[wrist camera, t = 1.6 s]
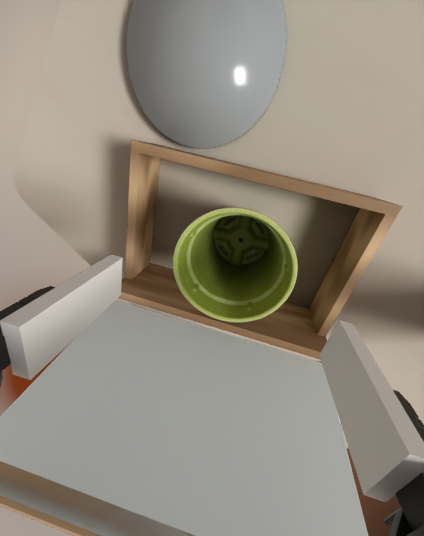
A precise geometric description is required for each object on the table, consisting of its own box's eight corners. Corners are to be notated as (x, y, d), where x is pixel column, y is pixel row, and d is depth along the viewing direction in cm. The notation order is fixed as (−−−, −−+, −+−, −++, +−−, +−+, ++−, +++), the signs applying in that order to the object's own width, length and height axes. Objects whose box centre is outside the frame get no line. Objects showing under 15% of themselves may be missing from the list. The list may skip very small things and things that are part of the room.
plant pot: (182, 227, 26) (148, 255, 18) (253, 172, 22) (249, 178, 14) (231, 289, 28) (219, 338, 20) (302, 248, 24) (322, 289, 16)
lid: (-60, 479, 11) (-51, 486, 11) (400, 662, 9) (384, 660, 9) (112, 299, 22) (113, 306, 23) (325, 364, 21) (320, 370, 21)
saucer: (137, -70, 17) (130, -83, 16) (313, -41, 16) (316, -53, 15) (128, 132, 23) (123, 130, 22) (256, 162, 22) (256, 162, 21)
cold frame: (154, 143, 23) (113, 136, 16) (375, 197, 21) (424, 213, 15) (143, 266, 29) (111, 295, 23) (312, 316, 27) (328, 361, 21)
